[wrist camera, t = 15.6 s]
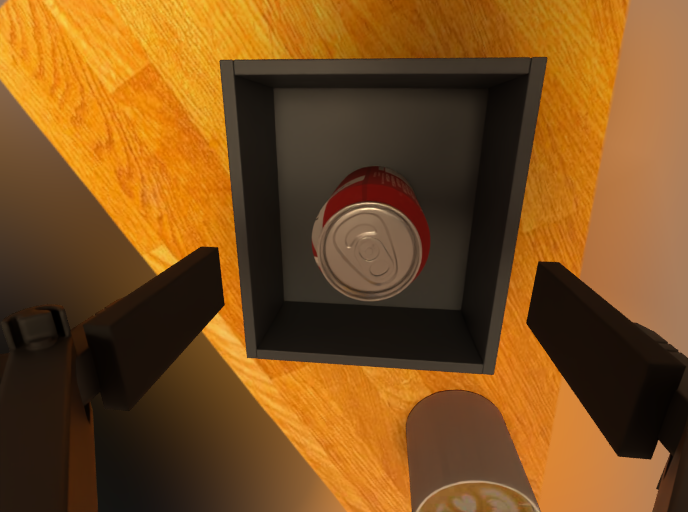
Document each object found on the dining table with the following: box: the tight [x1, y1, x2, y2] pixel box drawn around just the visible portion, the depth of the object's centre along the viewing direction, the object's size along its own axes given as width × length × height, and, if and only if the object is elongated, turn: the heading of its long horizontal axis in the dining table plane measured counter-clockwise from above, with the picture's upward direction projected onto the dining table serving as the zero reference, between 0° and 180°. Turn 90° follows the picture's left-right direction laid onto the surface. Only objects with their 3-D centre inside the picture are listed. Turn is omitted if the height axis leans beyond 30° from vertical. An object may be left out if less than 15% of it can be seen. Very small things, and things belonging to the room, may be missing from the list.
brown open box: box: [220, 57, 547, 375], centre depth 27 cm, size 18×20×9 cm
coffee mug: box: [406, 390, 541, 512], centre depth 34 cm, size 13×10×10 cm
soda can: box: [312, 166, 430, 301], centre depth 25 cm, size 7×7×12 cm
